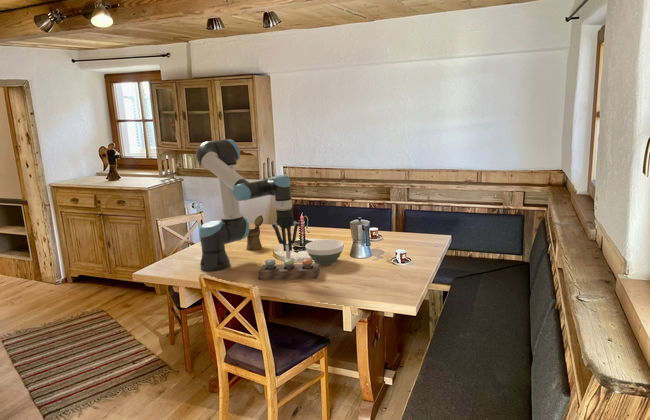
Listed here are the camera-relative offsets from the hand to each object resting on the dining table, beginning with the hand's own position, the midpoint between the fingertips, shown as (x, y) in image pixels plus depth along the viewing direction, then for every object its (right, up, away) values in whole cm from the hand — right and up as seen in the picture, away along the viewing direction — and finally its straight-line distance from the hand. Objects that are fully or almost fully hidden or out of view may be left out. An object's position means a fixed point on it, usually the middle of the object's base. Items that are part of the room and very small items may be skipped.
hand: (288, 257), depth 222 cm
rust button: (+9, -6, 0) cm, 11 cm away
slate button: (-9, -6, +3) cm, 11 cm away
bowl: (+18, -5, +18) cm, 26 cm away
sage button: (0, -6, +1) cm, 6 cm away
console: (0, -9, +2) cm, 9 cm away
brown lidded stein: (-23, 0, +55) cm, 59 cm away
